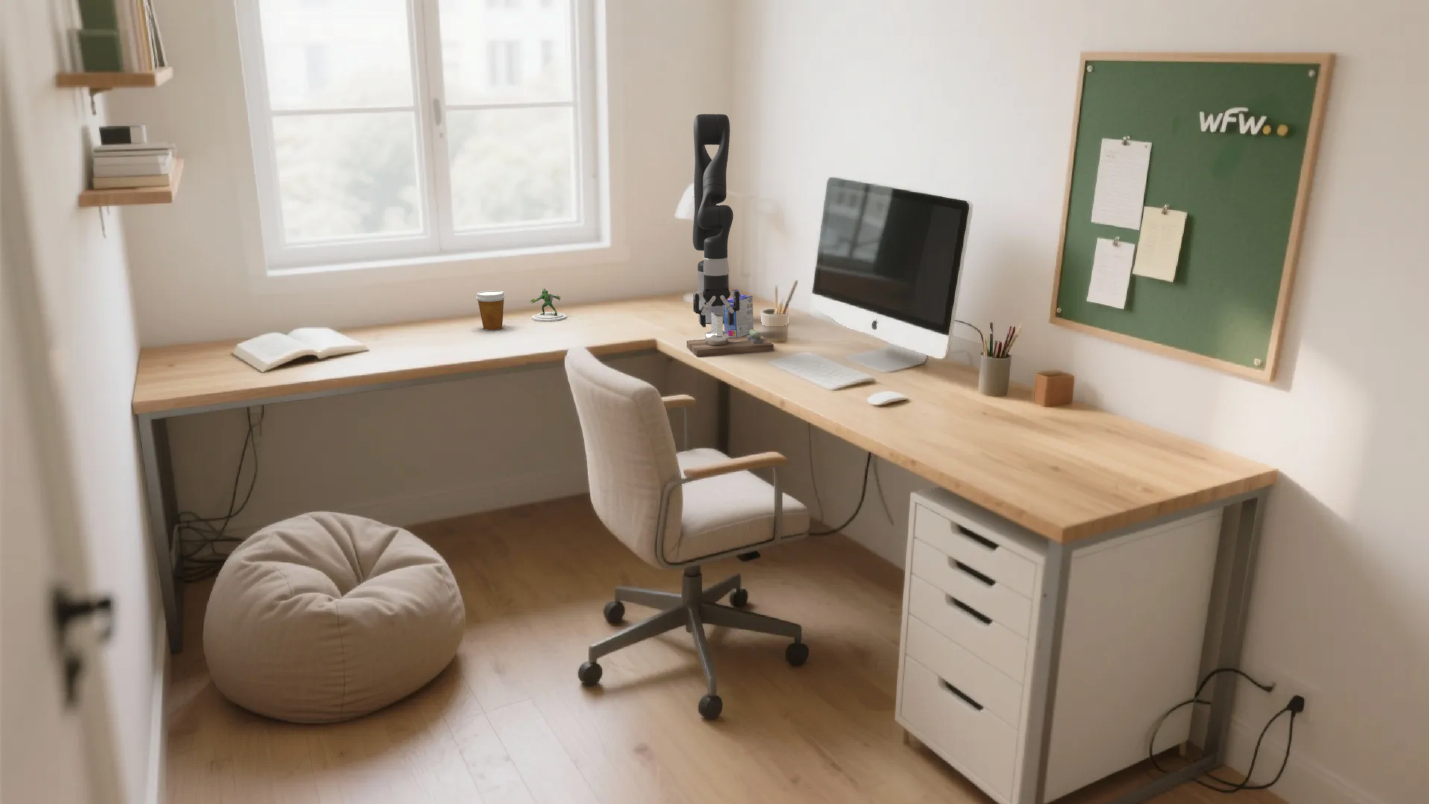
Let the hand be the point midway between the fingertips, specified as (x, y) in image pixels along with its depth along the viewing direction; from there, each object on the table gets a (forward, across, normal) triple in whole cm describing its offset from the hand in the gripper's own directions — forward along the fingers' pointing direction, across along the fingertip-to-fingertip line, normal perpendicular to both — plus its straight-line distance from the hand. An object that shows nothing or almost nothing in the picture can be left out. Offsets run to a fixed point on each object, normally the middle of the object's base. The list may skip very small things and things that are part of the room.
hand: (716, 325), depth 337 cm
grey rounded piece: (+5, 0, 0) cm, 5 cm away
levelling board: (+7, -4, 0) cm, 8 cm away
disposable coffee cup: (+8, +64, -53) cm, 83 cm away
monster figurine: (+8, +44, -63) cm, 77 cm away
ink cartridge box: (+8, -12, -18) cm, 23 cm away
